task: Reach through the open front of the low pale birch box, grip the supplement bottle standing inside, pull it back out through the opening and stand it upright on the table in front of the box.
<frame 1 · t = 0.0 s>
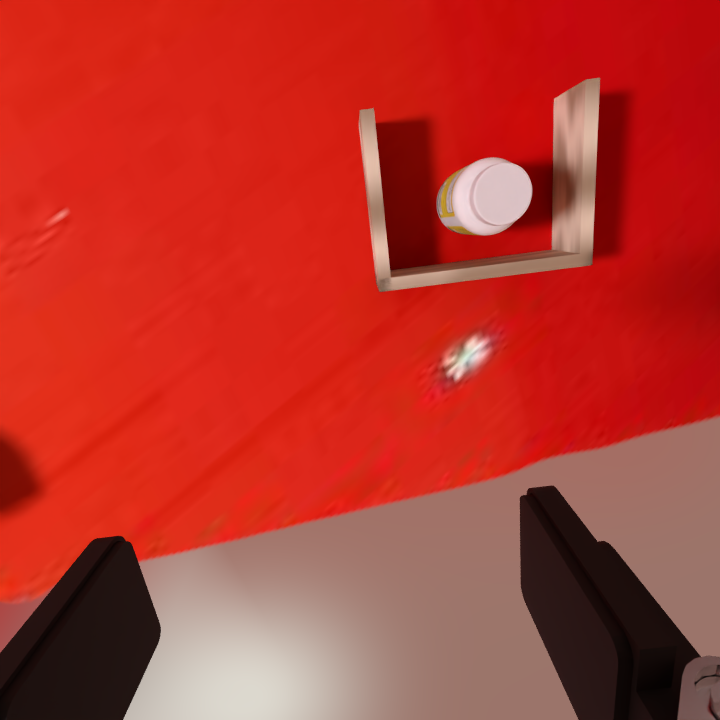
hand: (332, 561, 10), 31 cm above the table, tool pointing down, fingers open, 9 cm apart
open-sided box: (465, 195, 37), on the table
supplement bottle: (465, 201, 37), on the table
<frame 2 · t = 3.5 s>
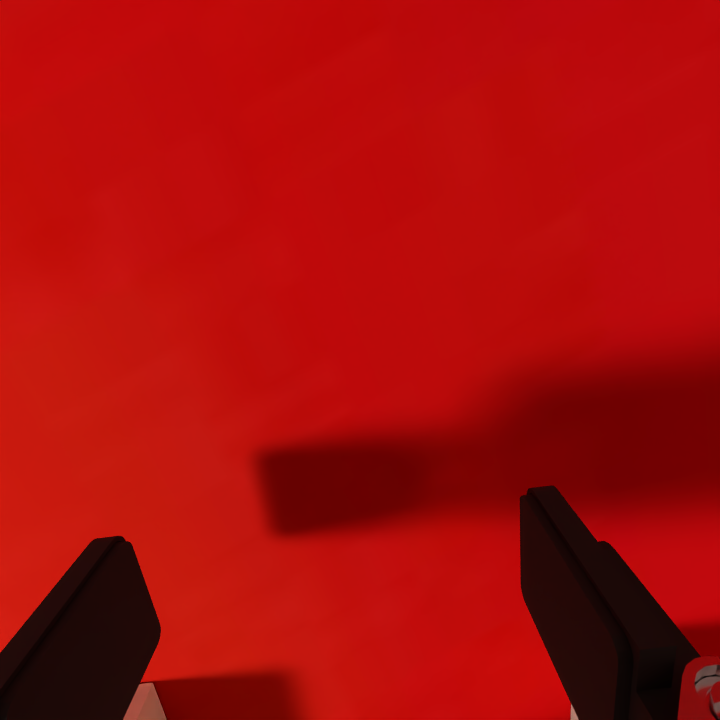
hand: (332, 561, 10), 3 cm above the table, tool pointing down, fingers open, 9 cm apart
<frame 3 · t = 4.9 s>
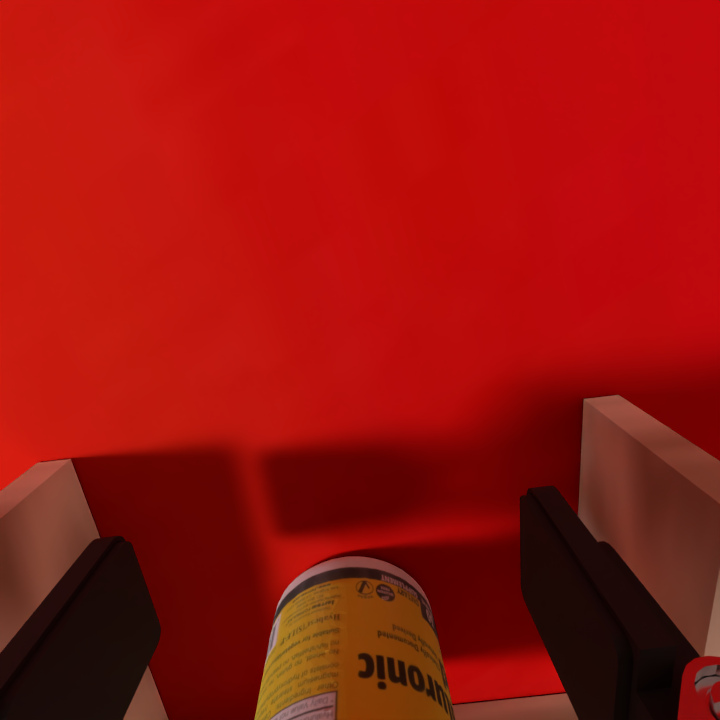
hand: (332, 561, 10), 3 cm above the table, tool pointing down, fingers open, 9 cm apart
open-sided box: (352, 601, 14), on the table
supplement bottle: (353, 606, 15), on the table
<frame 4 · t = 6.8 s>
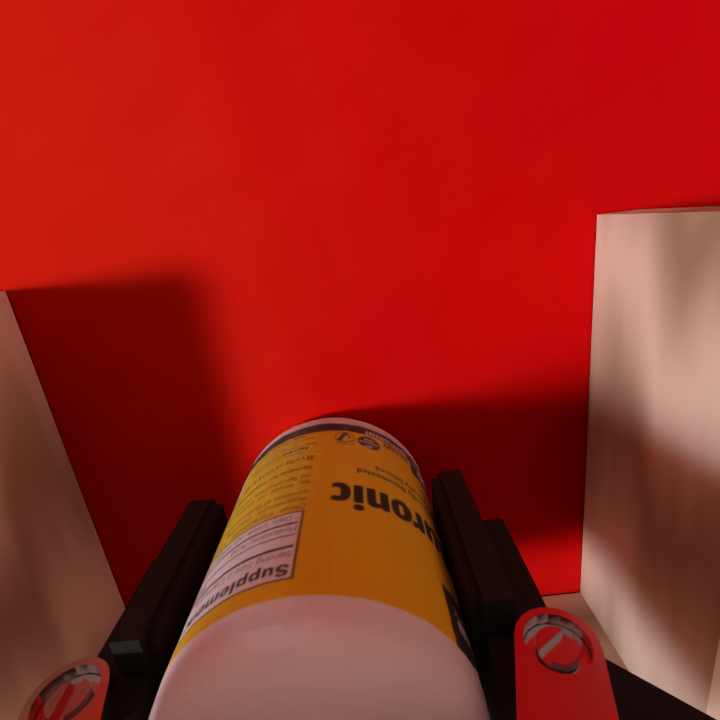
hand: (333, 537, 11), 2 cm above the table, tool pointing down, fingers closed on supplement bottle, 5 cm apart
open-sided box: (333, 476, 13), on the table
supplement bottle: (336, 486, 13), on the table, touching gripper
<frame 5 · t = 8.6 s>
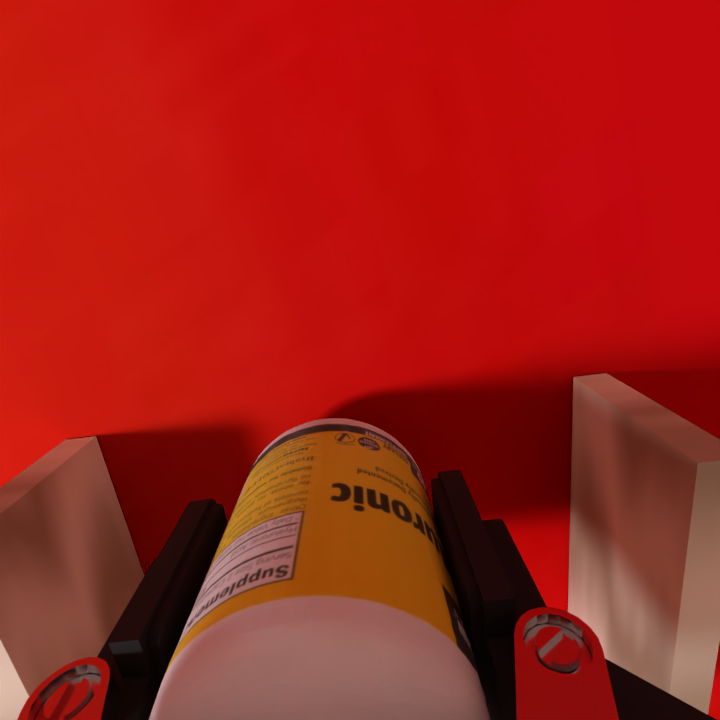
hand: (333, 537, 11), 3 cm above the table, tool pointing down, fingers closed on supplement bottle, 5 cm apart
open-sided box: (358, 573, 15), on the table
supplement bottle: (336, 487, 13), point 1 cm above the table, touching gripper
when the fingers open (2 cm above the table, at t = 10.8 s): supplement bottle stays where it is, on the table.
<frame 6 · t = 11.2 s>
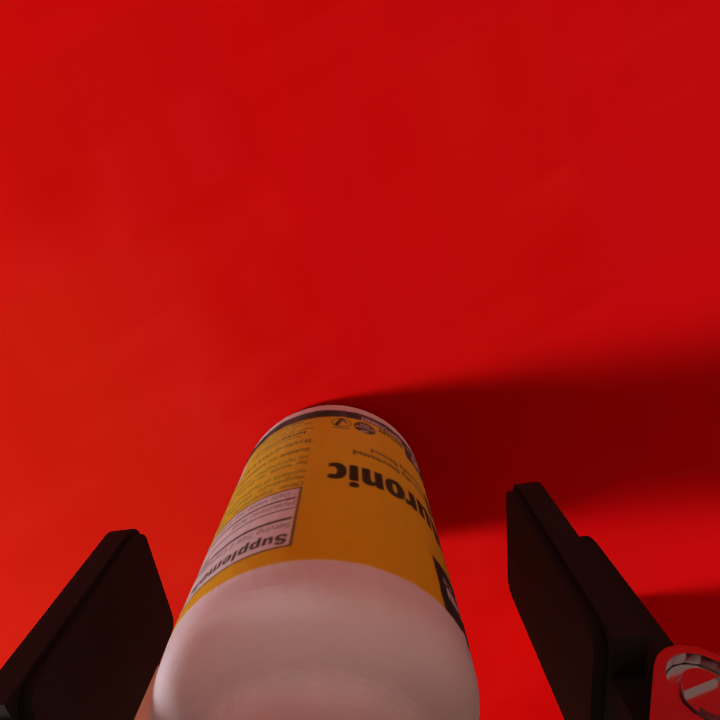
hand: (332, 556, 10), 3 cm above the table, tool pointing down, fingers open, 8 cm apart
supplement bottle: (334, 473, 14), on the table
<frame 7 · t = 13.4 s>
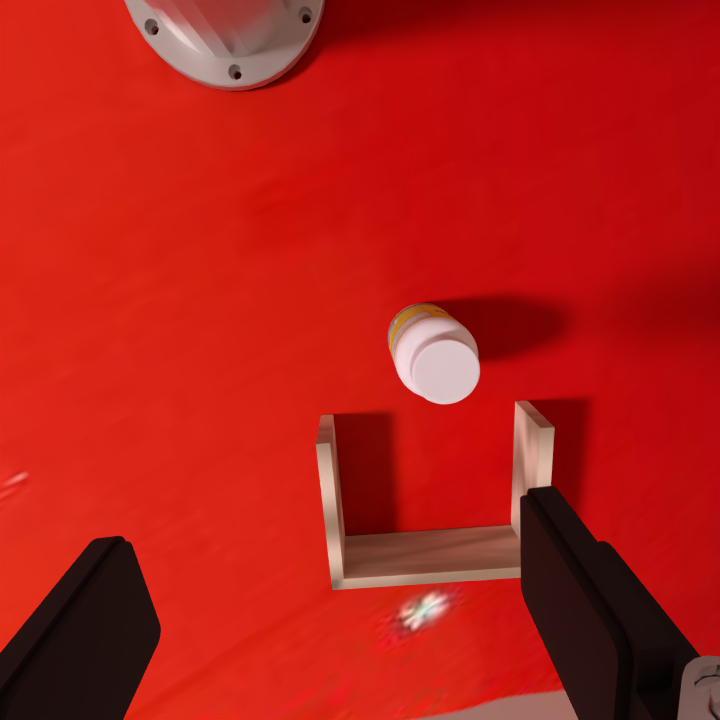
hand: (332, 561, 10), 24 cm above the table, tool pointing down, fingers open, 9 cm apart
open-sided box: (426, 477, 37), on the table
supplement bottle: (420, 334, 34), on the table
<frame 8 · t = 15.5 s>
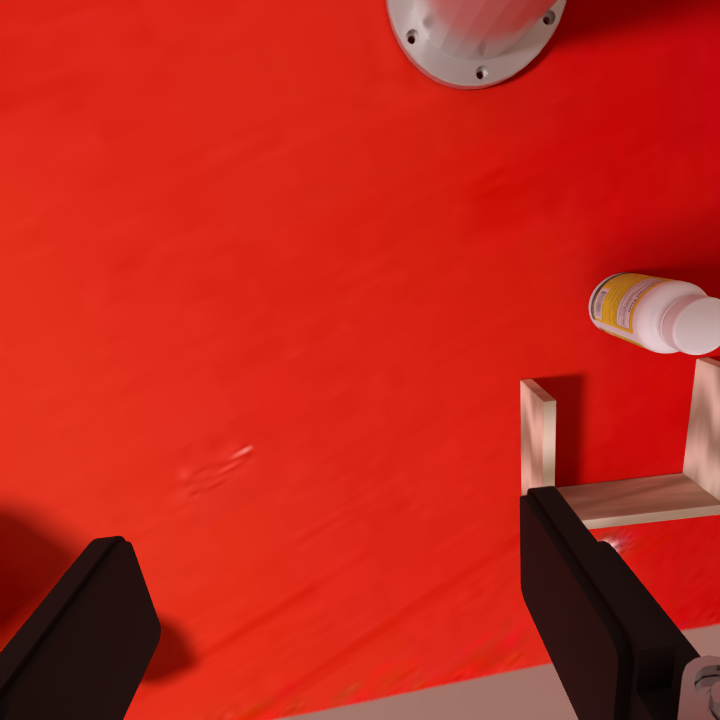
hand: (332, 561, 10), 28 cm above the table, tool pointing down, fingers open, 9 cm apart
open-sided box: (609, 432, 41), on the table
supplement bottle: (615, 301, 37), on the table
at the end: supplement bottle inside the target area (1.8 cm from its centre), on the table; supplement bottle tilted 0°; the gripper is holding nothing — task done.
